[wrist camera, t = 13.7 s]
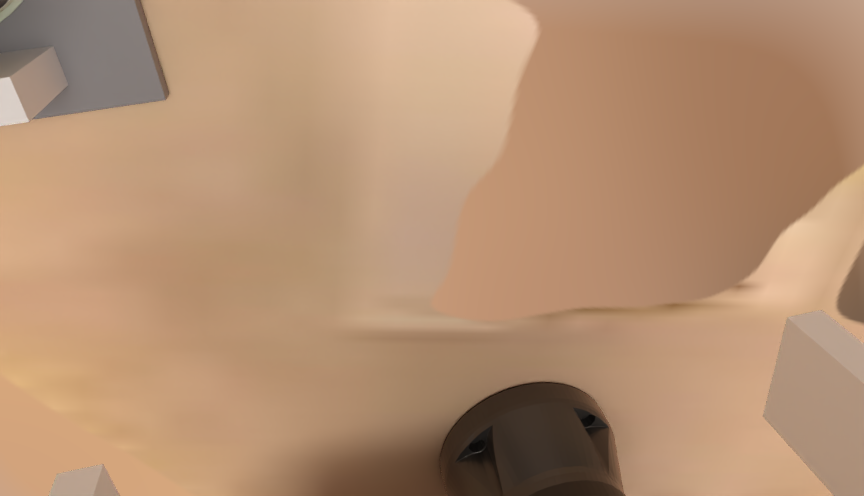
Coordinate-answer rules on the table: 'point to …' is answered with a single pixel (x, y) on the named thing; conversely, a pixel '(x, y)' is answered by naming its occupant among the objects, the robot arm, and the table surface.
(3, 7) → the coffee can
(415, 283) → the table surface
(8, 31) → the holder
